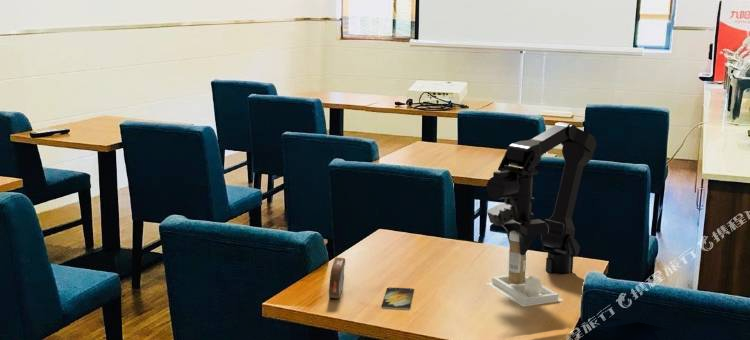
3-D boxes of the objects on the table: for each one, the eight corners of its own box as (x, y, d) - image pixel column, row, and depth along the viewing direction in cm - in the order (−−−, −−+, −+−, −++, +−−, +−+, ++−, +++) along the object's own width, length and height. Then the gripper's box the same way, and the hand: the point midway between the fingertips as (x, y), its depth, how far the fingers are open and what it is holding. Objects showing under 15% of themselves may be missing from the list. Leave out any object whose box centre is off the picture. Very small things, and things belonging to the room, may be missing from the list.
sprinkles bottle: (529, 283, 219) (531, 233, 216) (515, 286, 216) (518, 235, 213) (516, 278, 222) (519, 228, 220) (503, 281, 220) (505, 231, 217)
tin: (334, 283, 224) (334, 252, 222) (346, 283, 224) (346, 252, 222) (327, 303, 209) (327, 270, 207) (340, 303, 209) (340, 271, 207)
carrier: (525, 281, 226) (526, 272, 226) (564, 304, 210) (564, 294, 210) (485, 286, 222) (486, 277, 222) (522, 310, 206) (522, 300, 205)
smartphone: (414, 288, 220) (410, 308, 205) (414, 290, 220) (410, 311, 205) (387, 287, 221) (380, 306, 206) (387, 289, 221) (380, 309, 206)
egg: (535, 292, 215) (536, 272, 214) (545, 298, 211) (546, 277, 210) (520, 294, 213) (521, 274, 212) (529, 300, 209) (530, 279, 208)
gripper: (474, 188, 220) (472, 245, 223) (511, 204, 203) (509, 267, 206) (511, 184, 224) (509, 241, 227) (551, 200, 207) (548, 261, 210)
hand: (517, 252), depth 218 cm, fingers closed on sprinkles bottle, 4 cm apart
